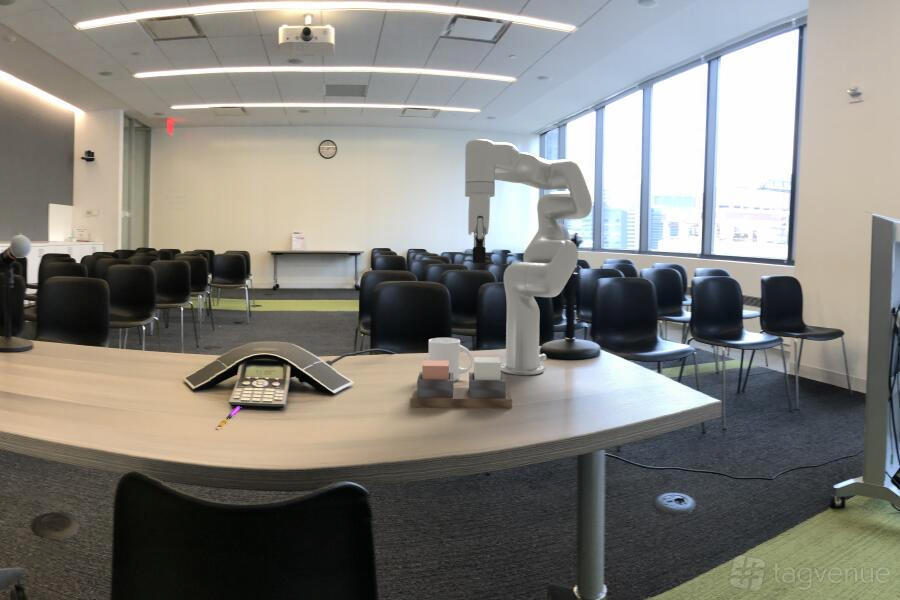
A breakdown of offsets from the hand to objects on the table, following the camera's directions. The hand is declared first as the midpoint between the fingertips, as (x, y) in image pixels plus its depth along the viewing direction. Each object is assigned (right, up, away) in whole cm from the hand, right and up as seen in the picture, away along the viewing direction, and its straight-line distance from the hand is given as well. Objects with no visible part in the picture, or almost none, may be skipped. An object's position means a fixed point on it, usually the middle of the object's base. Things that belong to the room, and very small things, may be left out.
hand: (479, 262), depth 146 cm
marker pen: (-54, -35, -24) cm, 69 cm away
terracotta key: (-11, -30, -12) cm, 34 cm away
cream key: (+1, -30, -12) cm, 32 cm away
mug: (-7, -31, +10) cm, 34 cm away
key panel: (-5, -33, -12) cm, 36 cm away
